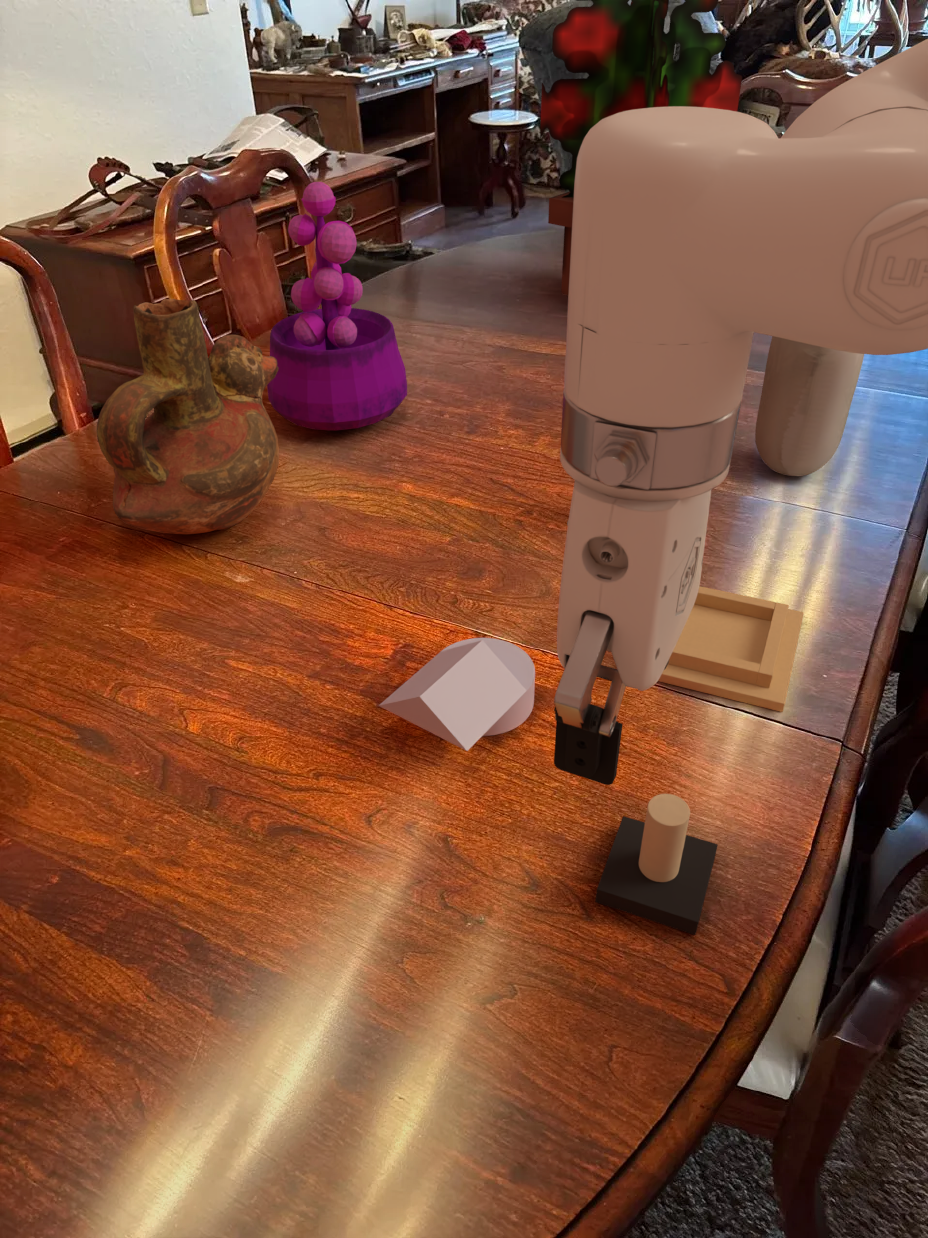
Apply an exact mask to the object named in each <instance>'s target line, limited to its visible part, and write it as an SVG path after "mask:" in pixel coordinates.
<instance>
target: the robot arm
mask: <svg viewBox="0 0 928 1238" xmlns="http://www.w3.org/2000/svg"><path fill="white" fill-rule="evenodd" d="M567 296H568V298H567V316H566V319H567V320H566V339H565V340H566V342H565V356H564V372H563V373H564V374H563V375H564V376H563V377H564V379H563V391H562V393H563V395H562V410H561V428H560V429H561V431H560V445H559V447H560V448H559V461H560V464H561V467H562V468H563V470H564V472H565V473H566V474H567V475H568V476H569V477H570V478H572V479H573V480H574V483H573V488H572V495H571V501H570V506H569V507H570V509H569V514H568V519H567V523H566V526H567V527H566V528H567V529H566V536H565V542H564V552H563V559H562V568H561V576H560V577H561V578H560V587H559V595H558V608H557V609H558V610H557V624H556V652H557V653H556V654H557V658H558V660H559V663H560V664H561V666H562V668H563V669H564V670H563V673H562V675H561V678H560V681H559V683H558V685H557V689H556V691H555V695H554V700H553V704H554V709H553V712H554V720H555V721H556V722H555V737H554V738H555V739H554V753H553V754H554V755H553V765H554V767H555V768H556V769H558V770H560V771H563V772H566V773H569V774H571V775H575V776H577V777H581V778H584V779H587V780H590V781H593V782H596V783H599V784H601V785H605V786H611V785H613V784H614V781H615V779H616V777H617V774H618V764H619V757H620V749H621V740H622V733H623V725H624V724H623V723H622V722H619V721H617V720H618V716H619V714H620V713H619V712H620V709H621V706H622V701H623V700H624V699H623V698H624V695H625V691H626V687H628V688H632V689H636V690H637V691H640V692H644V691H647V690H648V689H651V688H652V687H653V686H655V685H656V684H657V682H659V681H658V680H659V678H660V676H661V674H662V673H663V671H664V670H665V669H666V667H667V665H668V663H669V658H670V656H671V654H672V652H673V650H674V648H675V646H676V643H677V641H678V639H679V637H680V635H681V633H682V630H683V628H684V626H685V624H686V622H687V619H688V617H689V615H690V613H691V610H692V608H693V606H694V603H695V600H696V597H697V594H698V590H699V586H701V579H702V570H703V564H704V554H705V546H706V539H707V530H708V522H709V514H710V505H711V498H712V490H713V489H715V488H717V487H718V486H720V484H722V483H723V482H724V481H725V480H726V478H727V477H728V474H729V471H730V467H731V461H732V456H733V452H734V451H733V450H734V446H735V445H734V444H735V440H736V434H737V429H738V423H739V418H740V417H739V416H740V412H741V405H742V400H743V395H744V390H745V389H744V388H745V383H746V378H747V372H748V368H749V367H748V366H749V362H750V356H751V351H752V345H753V339H754V333H756V334H760V335H764V336H768V337H769V336H770V337H772V336H774V337H779V338H784V339H788V340H793V341H797V342H801V343H806V344H810V345H815V346H820V347H824V348H829V349H834V350H839V351H844V352H850V353H859V354H864V355H870V356H891V355H900V354H901V355H902V354H910V353H916V352H919V351H924V350H928V38H927V39H925V40H924V39H923V40H922V41H920V42H919V43H916V44H914V45H913V46H911V47H909V48H907V49H905V50H903V51H900V52H899V53H897V54H895V55H893V56H891V57H889V58H888V59H886V60H883V61H882V62H879V63H878V64H876V65H874V66H872V67H870V68H868V69H867V70H865V71H863V72H860V73H859V74H857V75H856V76H854V77H852V78H850V79H848V80H846V81H845V82H842V83H841V84H839V85H838V86H836V87H834V88H833V89H831V90H829V91H827V92H826V93H825V94H824V95H823V96H822V95H821V97H819V98H818V99H817V100H815V101H814V102H812V104H811V105H810V106H808V108H806V109H804V111H803V112H802V113H801V114H799V115H798V116H797V117H796V118H795V119H794V121H793V122H791V124H790V125H789V127H788V128H786V130H785V131H784V132H783V134H782V136H781V137H780V138H779V136H778V135H777V134H776V132H775V130H774V129H773V128H772V127H771V126H770V125H769V124H768V123H767V122H765V121H764V120H762V119H760V118H758V117H755V116H752V115H751V114H747V113H745V112H740V111H737V112H736V111H730V110H723V109H715V108H705V107H685V106H673V107H653V108H643V109H634V110H628V111H623V112H619V113H616V114H614V115H611V116H609V117H606V118H604V119H602V120H601V121H599V122H598V123H597V124H596V125H594V126H593V127H592V128H591V129H590V130H589V132H588V133H587V135H586V136H585V138H584V140H583V142H582V145H581V147H580V150H579V153H578V157H577V164H576V174H575V183H574V202H573V221H572V239H571V258H570V277H569V295H567ZM607 652H608V653H611V655H612V658H613V661H614V663H615V666H616V668H613V667H611V666H607V665H603V664H602V663H603V662H604V661H603V660H604V658H605V656H606V653H607ZM597 678H598V679H603V680H606V681H609V682H610V686H609V690H608V692H607V696H606V700H605V704H604V707H600V706H599V705H595V704H592V701H593V697H592V696H593V695H592V694H593V688H594V686H595V683H596V680H597Z"/></svg>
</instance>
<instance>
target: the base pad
mask: <svg viewBox="0 0 928 1238" xmlns="http://www.w3.org/2000/svg"><path fill="white" fill-rule="evenodd" d="M789 607H790V604H787V603H781V602H777V601H776V602H775V601H773V600H767V599H762V598H757V597H753V596H748V595H744V594H740V593H735V592H730V591H726V590H725V591H724V590H721V589H720V590H719V589H715V588H711V587H706V586H701V585H700V586H699V590H698V594H697V597H696V600H695V603H694V606H693V608H692V610H691V613H690V615H689V617H688V619H687V622H686V624H685V626H684V628H683V630H682V633H681V635H680V637H679V639H678V641H677V643H676V646H675V648H674V650H673V652H672V654H671V656H670V658H669V663H668V665H667V667H666V669H665V670H664V671H663V673H662V674H661V676H660V678H659V680H658V681H657V682H660V683H664V684H668V685H672V686H676V687H681V688H684V689H687V690H692V691H696V692H699V693H704V694H708V695H712V696H717V697H720V698H724V699H729V700H733V701H737V702H740V703H744V704H748V705H752V706H757V707H760V708H765V709H769V710H773V711H777V712H780V713H782V712H783V711H784V709H785V705H786V701H787V694H788V690H789V686H790V681H791V677H792V671H793V667H794V663H795V658H796V652H797V647H798V642H799V637H800V633H801V628H802V623H803V618H804V614H805V613H804V611H800V610H795V609H791V608H789Z"/></svg>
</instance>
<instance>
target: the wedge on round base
mask: <svg viewBox="0 0 928 1238" xmlns="http://www.w3.org/2000/svg"><path fill="white" fill-rule="evenodd" d="M535 687H536V667H535V664H534V662H533V660H532V658H531V657H530V655H529V654H528V653H527V652H526V651H525V650H524V649H522V647H519V646H518V645H516V644H514V643H511V642H509V641H507V640H504V639H498V638H491V637H473V638H466V639H462V640H460V641H456V642H454V643H452V644H449V645H448V646H446V647H444V648H443V649H441V651H439V652H438V653H437V654H436V655H435V656H434V657H432V658H431V659H430V660H429V661H428V662H427V663H425V665H423V666H422V667H421V668H420V669H419V670H417V671H416V672H415V673H414V674H413V675H411V676H410V678H408V679H407V680H406V681H405V682H404V683H403V684H401V686H399V687H398V688H397V689H395V691H394V692H392V693H391V694H390V695H389V696H388V697H387V698H386V699H384V700H383V701H382V702H381V703H380V704H378V707H380V708H382V709H384V710H386V711H387V712H390V713H392V714H394V715H396V716H398V717H400V718H402V719H403V720H405V721H408V722H409V723H411V724H412V725H414V726H417V727H419V728H421V729H423V730H425V731H427V732H429V733H431V734H432V735H434V736H437V737H439V738H441V739H443V740H444V741H446V742H449V743H450V744H452V745H454V746H456V747H458V748H460V749H462V750H464V751H466V752H468V751H469V750H470V749H471V748H473V746H474V745H475V744H476V743H477V742H478V741H479V740H480V739H481V738H482V737H488V736H490V737H491V736H495V735H501V734H504V733H508V732H509V731H512V730H514V729H516V728H518V727H519V726H520V725H522V724H523V723H524V722H525V721H527V719H528V718H529V717H530V715H531V714H532V711H533V708H534V705H535V689H536V688H535Z"/></svg>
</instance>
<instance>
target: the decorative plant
mask: <svg viewBox="0 0 928 1238" xmlns="http://www.w3.org/2000/svg"><path fill="white" fill-rule="evenodd" d="M302 194H303V195H302V198H301V202H302V205H303V208H304V209H305V211H306V212H307V213H308V214H307V213H304V214H298V215H294V216H293V217H292V218H291V220H289V223H288V227H287V231H288V232H287V233H288V235H289V238H290V239H291V240H292V241H293V242H294V243H295V244H297V246H299V247H300V246H301V247H305V246H308V245H311V243H313V242H314V241H315V243H314V244H315V246H314V247H315V248H314V253H315V262H314V263H313V266H312V268H311V272H310V277H311V278H310V277H306V278H304V279H303V278H301V279H299V280H297V281H295V282H294V284H293V285H292V287H291V290H290V298H291V300H292V303H293V304H294V306H295V307H297V309H299V310H301V311H302V312H301V311H300V312H298V313H295V314H292V315H289V316H287V317H284V318H283V319H281V320H280V321H278V322H276V324H274V325H273V326H272V328H271V330H270V333H269V334H270V335H269V356H272V357H274V358H276V360H277V367H278V368H279V369H278V372H277V374H276V376H275V378H274V379H272V380H271V382H270V383H269V384H268V385H267V386H266V388H267V397H268V398H267V400H268V402H269V403H270V405H271V406H272V408H273V410H275V411H276V412H277V413H278V414H279V415H280V416H281V417H283V418H284V419H285V420H287V421H289V422H291V423H293V424H294V425H296V426H298V427H302V428H306V429H312V430H314V431H315V430H317V431H344V430H353V429H360V428H363V427H367V426H370V425H374V424H378V423H379V422H380V421H383V420H384V419H387V418H388V417H391V416H392V414H393V413H394V412H395V411H396V410H397V408H399V406H400V405H401V404H402V402H403V401H404V400H405V398H406V397H407V396H408V380H407V373H406V372H407V371H406V367H405V363H404V361H403V357H402V355H401V352H400V350H399V346H398V341H397V337H396V331H395V327H394V324H393V322H392V321H391V320H390V318H388V317H386V315H383V314H382V313H380V312H376V311H373V310H369V309H363V308H356V307H352V306H353V305H355V304H357V303H358V302H359V301H360V300H361V298H362V297H363V293H364V292H363V291H364V289H363V284H362V282H361V280H360V279H359V278H357V276H355V275H352V274H351V273H350V272H345V273H343V272H342V267H341V266H340V265H342V264H345V263H347V262H348V261H350V260H351V259H352V258H353V256H354V254H355V253H356V249H357V245H358V244H357V243H358V242H357V237H356V233H355V231H354V229H353V227H352V226H351V225H349V224H348V223H347V222H346V221H341V220H333V221H328V222H327V223H326V222H325V219H324V217H325V216H328V215H329V214H330V213H331V212H332V211H333V210H334V207H335V205H336V202H337V201H336V200H337V197H336V196H334V192H333V190H332V188H331V187H330V186H329V185H328V184H326V183H325V182H323V181H313V182H311V183H309V184H308V185H307V186H306V187H305V188H304V190H303V193H302ZM309 214H310V215H312V216H314V217H316V222H315V220H314V219H313V218H312V217H311V216H310V215H309ZM319 307H321V308H319Z"/></svg>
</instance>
